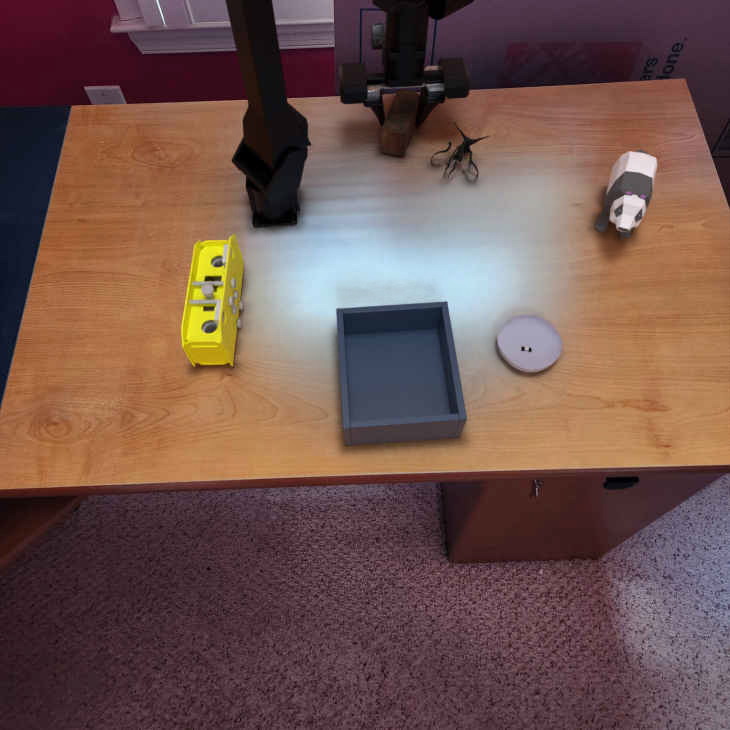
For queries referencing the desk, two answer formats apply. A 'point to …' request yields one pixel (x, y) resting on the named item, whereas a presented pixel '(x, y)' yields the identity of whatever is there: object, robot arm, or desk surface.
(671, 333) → the desk surface
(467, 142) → the creature
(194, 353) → the yellow toy chassis
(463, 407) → the bin
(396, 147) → the brick
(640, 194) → the giant panda
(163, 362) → the desk surface
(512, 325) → the pale lavender disc
